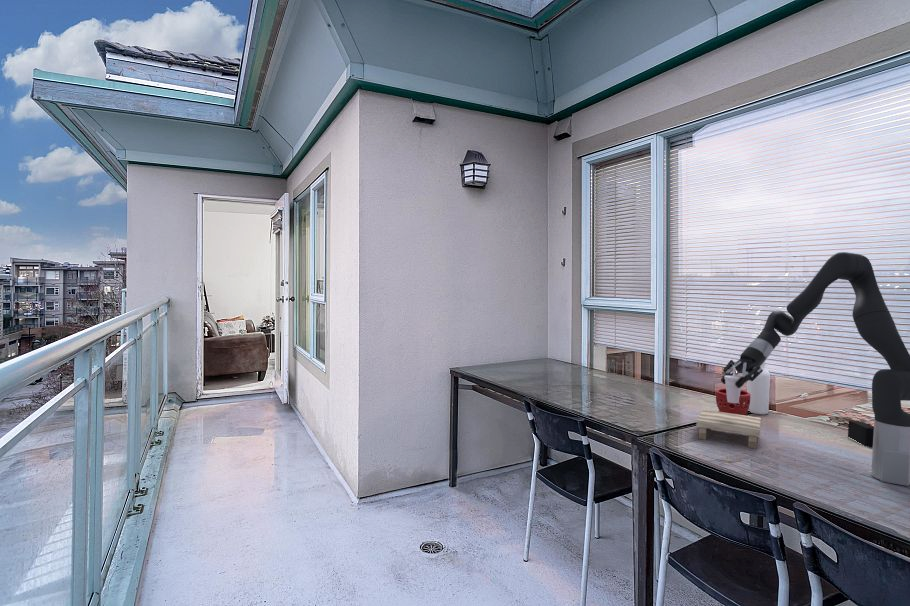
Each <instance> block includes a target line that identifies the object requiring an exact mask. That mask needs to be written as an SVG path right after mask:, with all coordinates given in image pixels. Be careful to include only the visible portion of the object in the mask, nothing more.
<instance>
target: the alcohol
mask: <svg viewBox="0 0 910 606" xmlns="http://www.w3.org/2000/svg"><path fill="white" fill-rule="evenodd" d="M760 367H761V368H762V370H763V371H762V372H761V373H760V374H759V375H758V376H757V377H756V378H755V379H754V380H753V381H750V380H749V381H746V382H747V383H746V385H747V386H746V391H747V392H749V393H750V405H749V409H748V411H750V412H751V414H756V415H760V416H761V415H768V413H769V412H770V410H769V409H770V388H771V387H770V386H771V374H770V373H771V372H769V370H768V369H767V366H766V360H765V361H764V362H763V364H762V365H761V366H760ZM752 377H753V375H752ZM748 411H747V412H748ZM750 412H749V413H750Z"/></svg>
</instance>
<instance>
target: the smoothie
mask: <svg viewBox="0 0 910 606" xmlns="http://www.w3.org/2000/svg"><path fill="white" fill-rule="evenodd" d="M735 371H736V369H735V366H733V371H732V373H733V376H732V375H726V376H724V375H723V376H724V379H725V384H724V385H725V389H726V393H727V402H730V403H739V397H740V392H741V390H742V386H741V387H740V388H737V386H736V385H735V383H736V382H737V381H738V380H739V378H740V377H741V376H739V375H735ZM739 404H740V403H739Z"/></svg>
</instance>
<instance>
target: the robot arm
mask: <svg viewBox="0 0 910 606" xmlns="http://www.w3.org/2000/svg"><path fill="white" fill-rule="evenodd" d="M837 280H843V281H844V280H845V281H848V282H849V283H850V285H851V287H852V289H853V292H854V295H855V301H854V305H853V309H852V319H853V322H854V325H855V327H856V329H857V332H858V334H859V335H860V337H861V338H862V340H863V341H865V342H866V343H867V344H868V345H869V346H870V347H872V348H873V349H874V350H875V351H876V352H878V353H879V354H880V355H881V356H882V358H883V359H884V360H885V362H886V363H887V364H888V367H889V368H884V369H879V370H878V371H876V372H875V374H874V375H873V377H872V382H871V406H872V411H873V414H874V420H873V421H874V423H873V427H874V436H873V447H872V452H871V453H872V456H871V457H872V458H871V459H872V460H871V472H870V473H871V474H870V475H871V476H872V477H873V478H875V479H876V480H879V481H880V482H884V483H890V484H894V485H900V486H906V487H909V486H910V413H909V412H906V411H905V410H903V408H902V401H905V402H910V353H909V351H908V349H907V347H906V345H905V343H904V341H903V339H902V337H901V335H900V332H899V331H898V329H897V326H896V323H895V321H894V319H893V317H892V314H891V312H890V310H889V309H888V306H887V305H886V302H885V300H884V299H885V298H884V297H883V295H882V292H881V290H880V288H879V285H878V281H877V279H876V276H875V272H874V268H873V265H872V263H871V261H870V259H869V258H868V257H867V256H865V255H863V254H859V253H854V252H847V251H839V252H836V253H834V254H832V255H831V256H830V257H829V258H828V259H827V260H826V261H825V263H823V265H822V267H821V268H820V269H819V270H818V271H817V273H815V276H814V277H813V278H812V279H811V281H810V282H809V283H808V285H807V286H806V287H805V288H804V290H802V291H801V292H800V293H799V294H798V295H797V296H796V297H795V298H794V299H792V301H790V302H789V303H788V304H787V306H786V312H787V313H788V314H787V313H786V312H784V311H782V310H780V309H779V310H778V309H776V310H773V311H771V313H770V314H769V315H768V317H767V319H766V321H765V324H764V326H763V329H762V330H761V331H760V332H759V334H758V336H757V337H755V339H754V340H753V341H751V343H749V344H748V346H747V347H746V348H745V349H744V350H743V352H742V353H741V354H740V356H739V359H738V360H736V361H734V360H733V359H731V360H728V363H727V364H726V365H725V367H724V368H723V370H722V371H723V373H724V375H723V376H722V377H721V379H720V381H721V383H722V384H724V385H726V384H725V379H724V376H726V375H732V376H733V366H735V376H739V374H742V375H741V376H740V378H739V380H738V381H737V382H736V383H735V385H736V386H737V388H740V387H741V388H742V387H743V386H744V384H745V383H746V382H748V381H749V380H750V381H753V380H754V379H755V378H756V377H757V376H758V375H759V374H760V373H761V372H762V371H763V370H762V368H761V367H760V366H761V365H762V364H763V362H764V361H765V362H766V360H767V359H768V358H769V357H770V356H771V354H772V353H773V351H774V350H775V348H776V347H777V346H778V345H780V343H781V340H782V339H781V336H780V335H779V334H778V333H780V334H781V335H783V336H786V337H788V336H792V335H794V334H795V333H796V332H797V331H798V329H799V328H800V326H801V323H802V322H803V321H804V319H805V318H806V317H807V316H808V315H810V313H812V312H813V311H814V310H815V309H816V308H817V307H819V305H820V304H821V303H822V300H823V298H824V293H825V292H826V290H827V288H828V287H829V286H830V285H831V284H833V283H834V282H835V281H837ZM752 375H753V377H752Z"/></svg>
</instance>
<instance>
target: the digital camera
mask: <svg viewBox="0 0 910 606" xmlns="http://www.w3.org/2000/svg"><path fill="white" fill-rule="evenodd" d="M847 425H848V428H847V438H848V437H850V438H852V439H854V440H856V441H857V442H859V443H861V444H862V446H863V445H864V447H866V446H870V447H869V448H873V436H874V425H872V424H870V423H866V422H864V421H861V420H848V424H847ZM857 442H856V443H857ZM859 443H858V444H859ZM861 444H860V445H861Z"/></svg>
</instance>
